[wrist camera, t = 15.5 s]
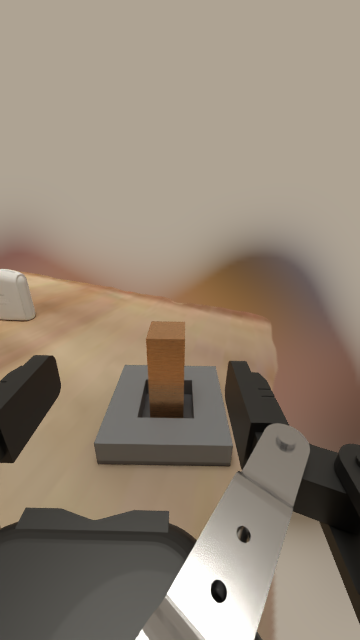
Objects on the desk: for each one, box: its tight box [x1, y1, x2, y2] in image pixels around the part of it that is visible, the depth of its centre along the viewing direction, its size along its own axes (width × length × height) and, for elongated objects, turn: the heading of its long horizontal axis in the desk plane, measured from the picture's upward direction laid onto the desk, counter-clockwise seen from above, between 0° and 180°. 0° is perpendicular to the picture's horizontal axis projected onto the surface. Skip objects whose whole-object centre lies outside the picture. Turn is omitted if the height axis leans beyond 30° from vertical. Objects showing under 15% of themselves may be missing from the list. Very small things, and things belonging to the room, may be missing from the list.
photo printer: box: [0, 269, 35, 320], centre depth 59 cm, size 10×4×12 cm, turn 82°
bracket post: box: [146, 321, 185, 418], centre depth 29 cm, size 4×4×12 cm
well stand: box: [94, 365, 233, 466], centre depth 31 cm, size 14×14×3 cm
